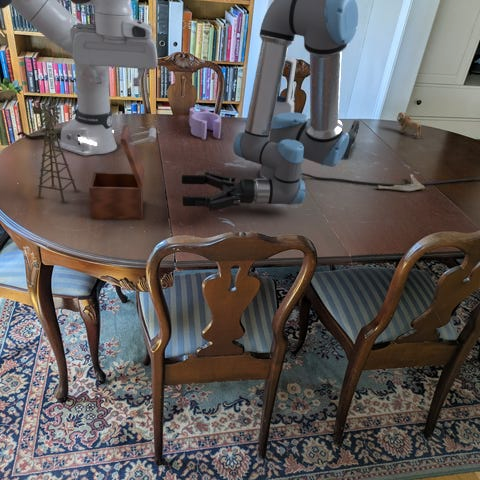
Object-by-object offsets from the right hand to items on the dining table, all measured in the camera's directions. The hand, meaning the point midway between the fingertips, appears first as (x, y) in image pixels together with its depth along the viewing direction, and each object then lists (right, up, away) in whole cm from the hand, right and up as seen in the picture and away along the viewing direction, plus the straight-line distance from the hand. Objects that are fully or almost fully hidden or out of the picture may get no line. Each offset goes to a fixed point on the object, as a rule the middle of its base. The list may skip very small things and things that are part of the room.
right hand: (182, 189), depth 137 cm
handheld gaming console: (+63, +23, +60) cm, 90 cm away
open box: (-19, -6, +1) cm, 20 cm away
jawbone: (+75, +5, +34) cm, 82 cm away
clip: (+1, +32, +63) cm, 71 cm away
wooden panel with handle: (-13, +8, -8) cm, 17 cm away
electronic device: (+34, +37, +76) cm, 91 cm away
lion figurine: (+96, +36, +85) cm, 133 cm away
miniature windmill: (-39, -1, +6) cm, 39 cm away
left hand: (-14, +25, -18) cm, 34 cm away
